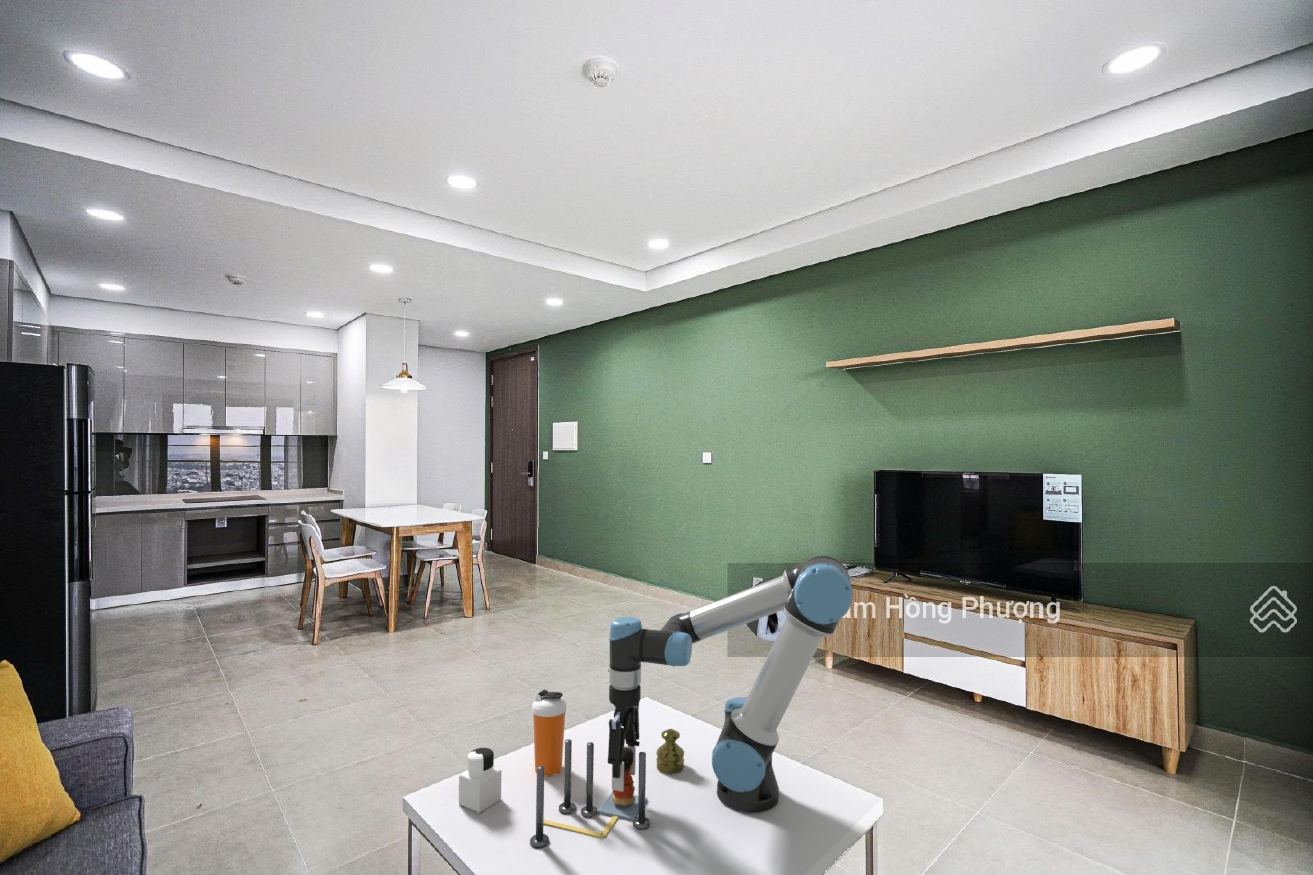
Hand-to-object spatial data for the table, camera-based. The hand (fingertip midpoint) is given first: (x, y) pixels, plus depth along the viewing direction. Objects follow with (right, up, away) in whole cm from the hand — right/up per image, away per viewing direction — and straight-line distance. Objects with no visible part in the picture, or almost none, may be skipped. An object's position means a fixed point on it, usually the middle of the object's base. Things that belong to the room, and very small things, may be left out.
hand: (623, 781), depth 147 cm
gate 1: (-15, -6, -8) cm, 18 cm away
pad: (0, -6, 0) cm, 6 cm away
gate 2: (-2, -6, -5) cm, 8 cm away
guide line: (-10, -6, -6) cm, 13 cm away
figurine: (0, -5, 0) cm, 5 cm away
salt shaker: (+11, -7, +18) cm, 22 cm away
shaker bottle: (-21, -6, +17) cm, 27 cm away
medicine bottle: (-35, -6, +1) cm, 35 cm away
